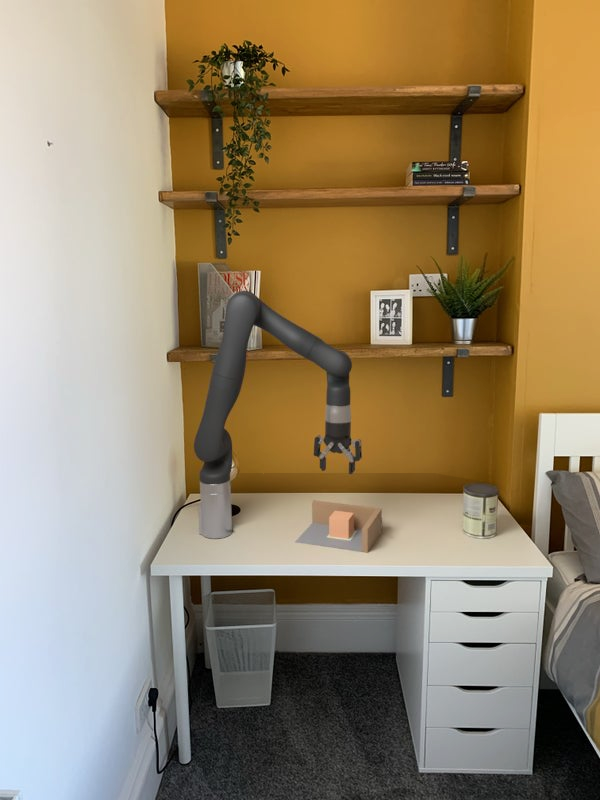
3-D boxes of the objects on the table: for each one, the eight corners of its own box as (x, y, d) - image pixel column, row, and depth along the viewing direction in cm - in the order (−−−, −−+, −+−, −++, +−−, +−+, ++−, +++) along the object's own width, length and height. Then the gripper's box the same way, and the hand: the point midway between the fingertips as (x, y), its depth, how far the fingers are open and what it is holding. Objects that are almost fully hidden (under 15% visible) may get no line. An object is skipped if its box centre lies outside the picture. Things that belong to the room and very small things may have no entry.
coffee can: (468, 523, 198) (470, 480, 195) (500, 530, 192) (503, 486, 189) (456, 534, 189) (458, 490, 187) (490, 541, 184) (492, 496, 181)
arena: (294, 545, 183) (294, 519, 181) (314, 523, 199) (313, 500, 197) (367, 556, 175) (367, 529, 174) (381, 533, 191) (381, 508, 189)
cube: (329, 536, 186) (329, 517, 185) (335, 528, 192) (335, 510, 191) (348, 539, 184) (348, 520, 183) (353, 531, 190) (354, 512, 188)
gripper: (310, 419, 181) (310, 472, 185) (358, 424, 176) (356, 478, 180) (319, 414, 188) (318, 465, 192) (364, 418, 183) (363, 471, 187)
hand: (337, 471), depth 186 cm, fingers open, 8 cm apart
